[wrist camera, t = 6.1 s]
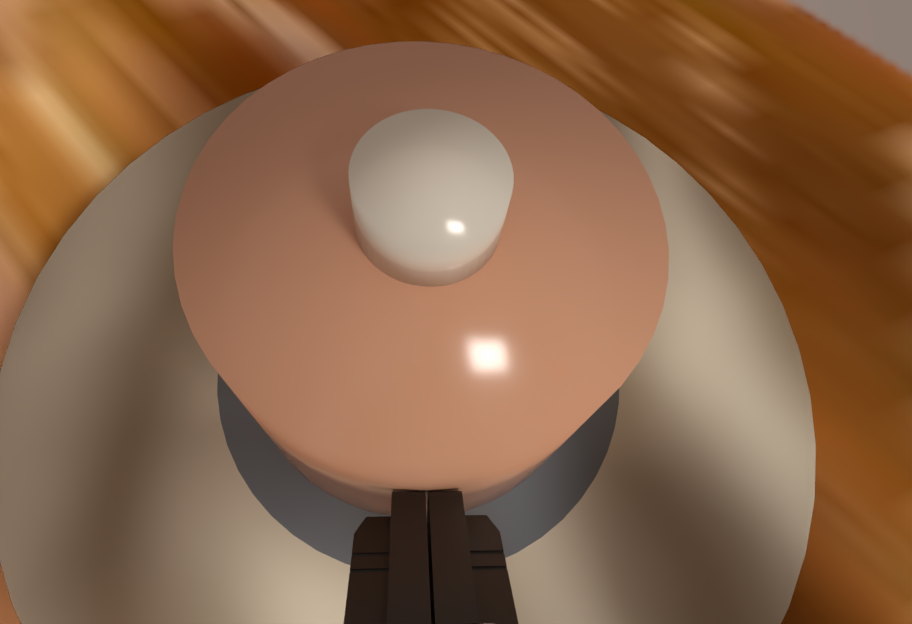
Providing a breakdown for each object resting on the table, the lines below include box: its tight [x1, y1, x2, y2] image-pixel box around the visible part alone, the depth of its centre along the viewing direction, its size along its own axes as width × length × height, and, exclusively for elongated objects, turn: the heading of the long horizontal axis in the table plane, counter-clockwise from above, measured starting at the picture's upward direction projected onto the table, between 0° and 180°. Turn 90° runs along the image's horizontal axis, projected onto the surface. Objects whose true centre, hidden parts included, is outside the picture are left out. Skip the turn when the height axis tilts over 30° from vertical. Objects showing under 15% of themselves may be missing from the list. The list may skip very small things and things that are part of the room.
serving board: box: [0, 89, 816, 624], centre depth 20 cm, size 24×24×2 cm
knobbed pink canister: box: [173, 42, 669, 516], centre depth 15 cm, size 10×10×9 cm
